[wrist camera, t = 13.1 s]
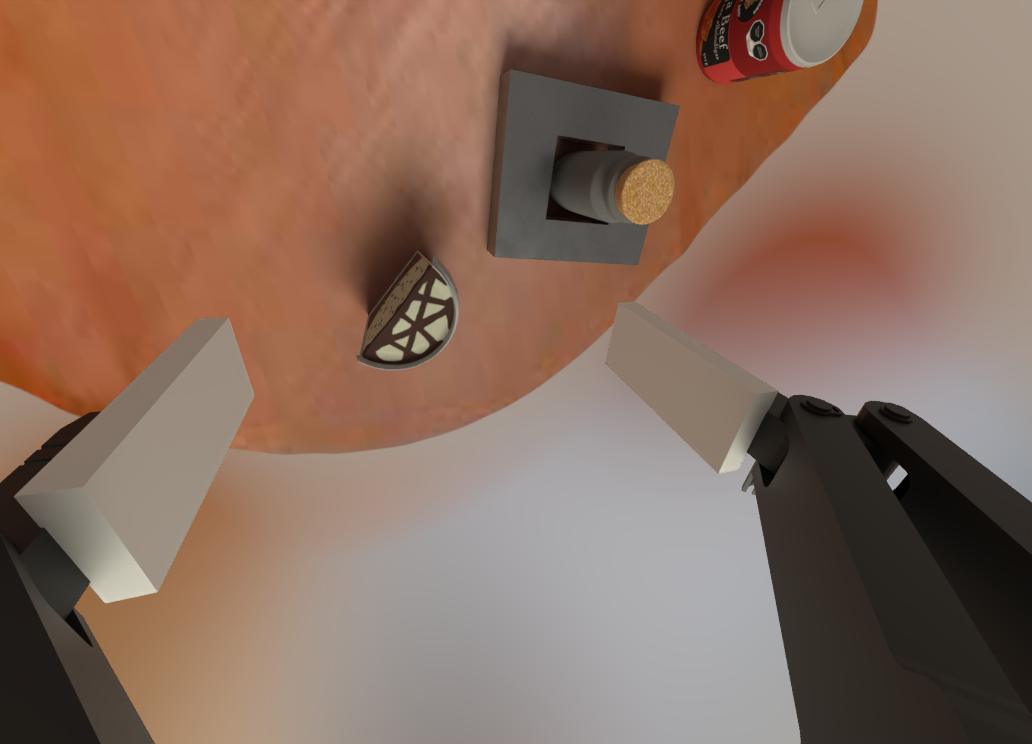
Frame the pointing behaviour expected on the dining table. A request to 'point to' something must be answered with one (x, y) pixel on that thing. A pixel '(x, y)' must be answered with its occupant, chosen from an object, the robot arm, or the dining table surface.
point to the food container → (412, 317)
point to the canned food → (771, 36)
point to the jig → (530, 157)
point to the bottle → (612, 186)
